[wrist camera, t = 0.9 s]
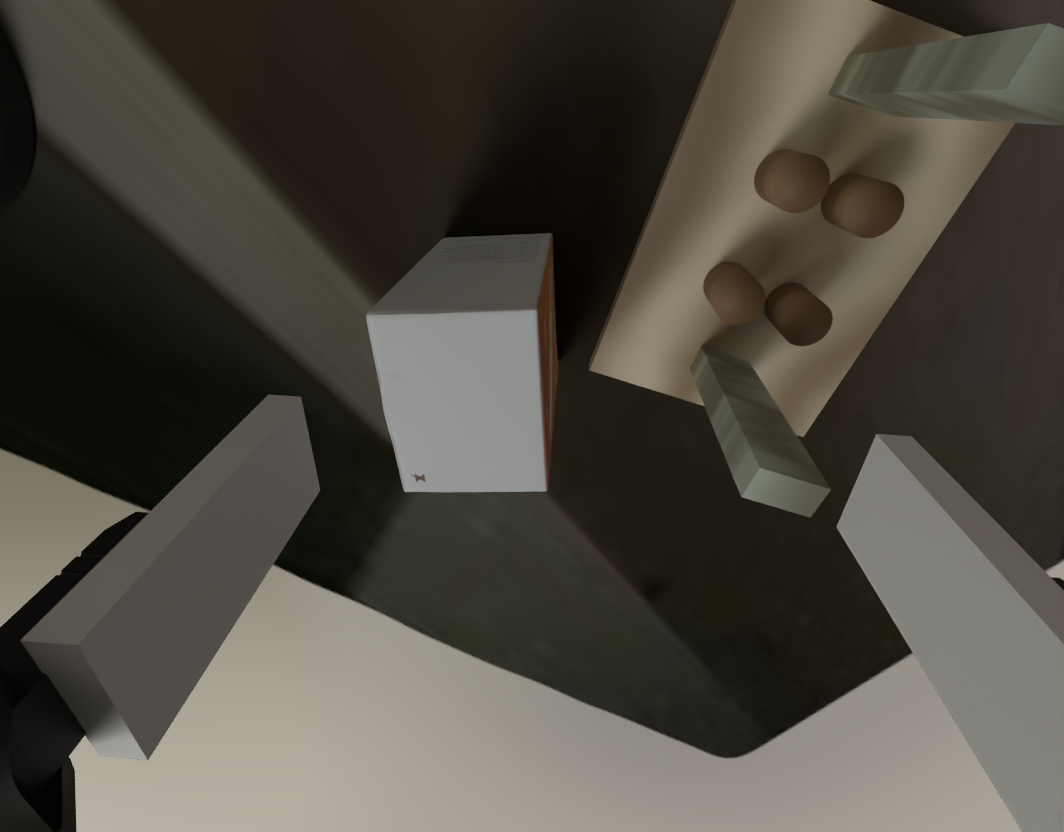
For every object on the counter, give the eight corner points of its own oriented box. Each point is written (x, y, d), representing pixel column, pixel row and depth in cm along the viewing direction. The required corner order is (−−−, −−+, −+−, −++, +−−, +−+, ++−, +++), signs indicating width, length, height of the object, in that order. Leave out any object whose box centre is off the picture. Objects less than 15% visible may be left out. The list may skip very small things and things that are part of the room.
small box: (560, 364, 34) (549, 497, 22) (459, 366, 34) (400, 496, 23) (555, 228, 30) (539, 307, 18) (441, 234, 30) (358, 312, 19)
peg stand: (589, 363, 33) (593, 495, 22) (748, -40, 23) (901, -168, 12) (797, 428, 35) (901, 586, 23) (1034, 71, 25) (1415, 46, 13)
